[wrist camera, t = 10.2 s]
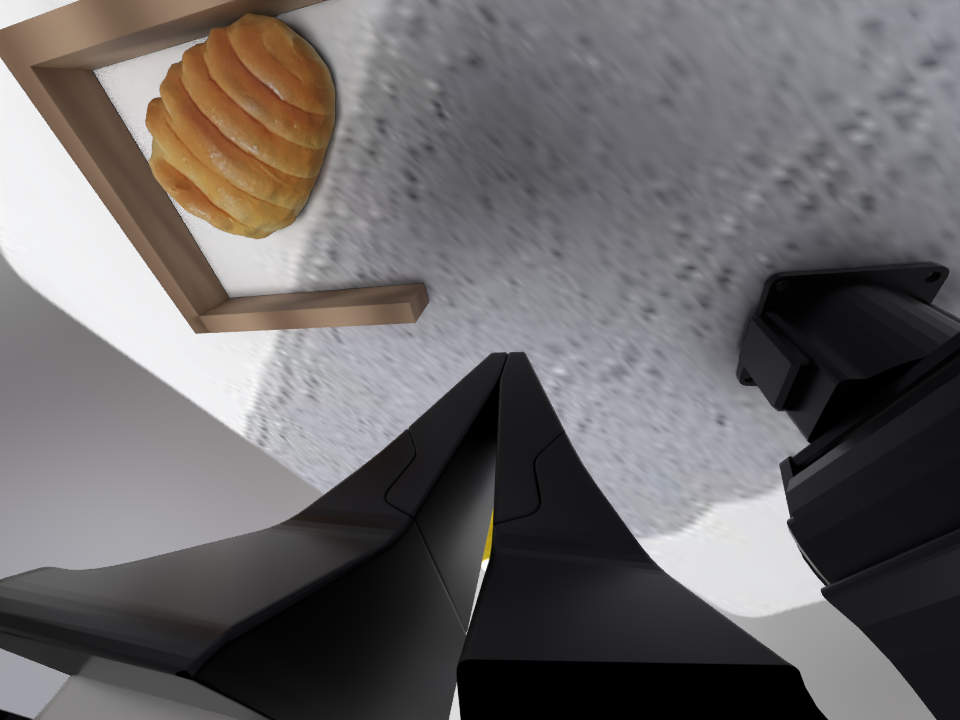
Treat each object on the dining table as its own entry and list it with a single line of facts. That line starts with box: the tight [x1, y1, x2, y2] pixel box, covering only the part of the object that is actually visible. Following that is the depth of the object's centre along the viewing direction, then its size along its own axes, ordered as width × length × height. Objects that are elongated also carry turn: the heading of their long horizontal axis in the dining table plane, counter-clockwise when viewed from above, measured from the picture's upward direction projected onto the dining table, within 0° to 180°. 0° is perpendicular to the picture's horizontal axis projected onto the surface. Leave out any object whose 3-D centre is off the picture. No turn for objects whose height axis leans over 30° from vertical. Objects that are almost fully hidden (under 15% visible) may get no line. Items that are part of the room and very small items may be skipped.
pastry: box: [145, 13, 336, 239], centre depth 16 cm, size 9×7×4 cm
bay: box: [0, 0, 429, 334], centre depth 18 cm, size 15×14×2 cm
